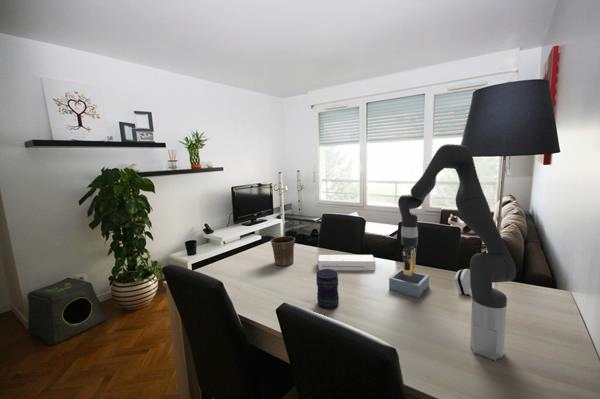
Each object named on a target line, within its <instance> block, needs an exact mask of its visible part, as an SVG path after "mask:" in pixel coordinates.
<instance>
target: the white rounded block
mask: <svg viewBox="0 0 600 399" xmlns="http://www.w3.org/2000/svg"><path fill="white" fill-rule="evenodd" d="M454 282H455V284H456V288H457V292H458V294H459V295H463V294H464V295H469V296H470V298H472V291H471V287H470V268H464V269H460V270H457V272H456V274H455V276H454Z"/></svg>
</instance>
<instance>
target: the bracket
mask: <svg viewBox="0 0 600 399" xmlns="http://www.w3.org/2000/svg"><path fill="white" fill-rule="evenodd" d="M409 256H410V255H408V257H409ZM402 263H403V265H402V269H403V274H404V275H408V276H412V275H413V274H415V272H416V257H415V253H414V254H412V255H411V259H410V270H409V271H408V270H405V263H404V262H402Z"/></svg>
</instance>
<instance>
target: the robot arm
mask: <svg viewBox="0 0 600 399" xmlns="http://www.w3.org/2000/svg"><path fill="white" fill-rule="evenodd" d="M474 161H475V160H474V157H473V154H472V151H471V150H470V148H469V147H468V146H466V145H463V144H454V143H453V144H452V143H446V144H443V145H441V146H440V147H439V148H438V149H437V151H436V152H435V153H434V154H433V157H432V158H431V161H429V163H428V165H427V167H426V169H425V170H424V172H423V174H422V175H421V177H420V178H419V179H418V180H417V182H415V184H414V185H413V186H412V187H411V188H410V194H403V195H400V196H399V198H398V201H397V205H398V208H399V212H400V216H401V228H400V230H401V232H400V233H401V234H400V235H401V236H400V237H401V238H400V239H401V242H400V243H401V245H403V246H404V248H403V250H402V251H401V260H402V261H401V262H402V263H403V262H404V263H405V270H408V271H409V270H410V259H411V255H412V254H414V253H415V258H416V257H417V248H418V245H419V241H418V240H419V230H418V215H417V214H415V213H411V210H413V209H418V208H420V207H421V206H422V205H423V203H424V202H425V199H426V197H427V196H428V195H429V194H431V191H433V190H434V188H435V186H436V182H437V176H438V174H439V173H440V172H441V171H443V170H444V169H450V170H451V169H454V170H455V172H456V173H457V176H458V180H459V185H458V189H457V192H456V195H455V206H456V208H457V211H458V214H459V217H460V219H461V221H462V222H463V223H464V225H466V226H467V227H468V228H469V229H470V230H471V231H472V232H474V234H475V235H476V236H478V238H480V240H481V241H482V243H483V244H484V247H485V249H486V251H487V252H482V253H481V252H479V253H475V254H473V255H472V256H471V258H470V262H469V269H470V287H471V291H472V297H471V310H470V311H471V316H470V317H471V318H470V336H469V339H470V340H469V342H470V343H469V345H470V347H471V350H472V353H473V354H476V355H479V356H482V357H484V358H487V359H490V360H493V361H495V362H496V361H497V360H499V359H502V358H503V357H504V355H505V338H506V322H507V304H508V299H507V295H506V294H505V293H504V292H502V291H500V290H498V289H496V288H493V284H494V283H505V282H506V283H507V282H512V281H513V280H515V278H516V275H517V268H516V265H515V261H514V260H513V258H512V255H511V253H510V251H509V250H508V247H507V245H506V243H505V241H504V240H503V238H502V236H501V233H500V231H499V229H498V227H497V224H496V222H495V219H494V217H493V214H492V211H491V209H490V205H489V203H488V201H487V198H486V195H485V193H484V190H483V188H482V185H481V182H480V179H479V176H478V173H477V169H476V166H475V162H474ZM408 255H410V256H409V257H408Z"/></svg>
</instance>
